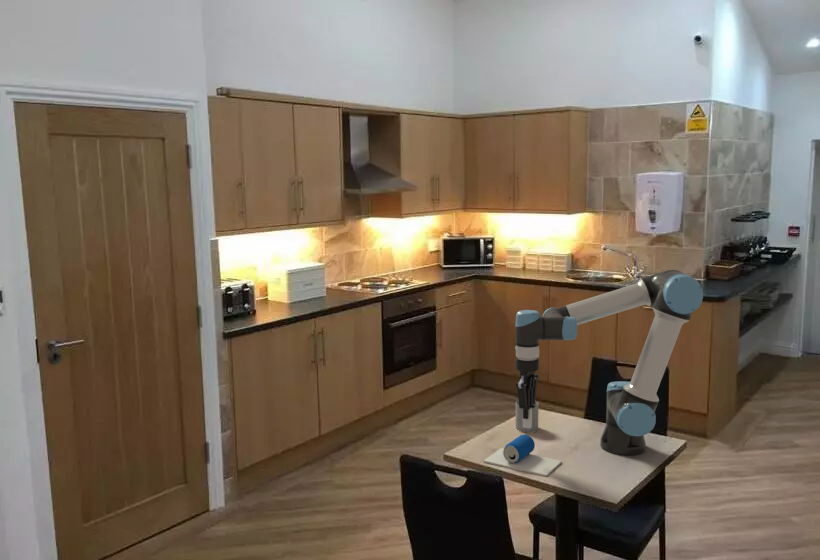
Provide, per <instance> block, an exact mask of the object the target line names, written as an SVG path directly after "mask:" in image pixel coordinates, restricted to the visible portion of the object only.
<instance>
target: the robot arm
mask: <svg viewBox="0 0 820 560" xmlns="http://www.w3.org/2000/svg"><path fill="white" fill-rule="evenodd" d="M702 288H703V287H702V286H701V284H700V282H699V281H698V280H697V279H696V278H694V277H693V276H691V275H689V274H686V273H684V272H682V271H680V270H677V269H666V270H662V271H660V272H657V273H653V274H651V275H649V276H646V277H643V278H639V280H638V282H637V283H634V284H630V285H627V286H624V287H620V288H618V289H614V290H611V291H608V292H605V293H601V294H599V295H595V296H592V297H589V298H586V299H583V300H579V301H575V302H573V303H569V304H566V305H563V306H559V307H550V308H547V309H546V310H545V311H544V312H543V313H542V316H540V313H539V311H537V310H534V309H532V310H531V309H523V310H519V311H518V312H516V315H515V347H514V349H515V357H516V358H515V369H516V370H517V371H519V382H518V381H516V382H515V386H516V387H515V388H516V389H517V390H516V391H517V401H518V400H519V408H521V409H523V427H524V428H529V429H530V428H532V408H535V406H534V405H533V404H535V401H536V398H537V397H536V395H537V384H538V378H539V374H537V373H536V372H537V371H538V370H539V369H540V359H539V357H540V341H572V340H573V341H574V340H576V339H577V336H578V326H579V325H582V324H586V323H589V322H591V321H595V320H598V319H601V318H605V317H608V316H611V315H615V314H619V313H621V312H624V311H628V310H631V309H635V308H638V307H641V306H645V305H646V306H648V307H651V306H652V310H653V312H654V317H653V321H652V323H651V325H650V328H649V330H648V334H647V337H646V339H645V343H644V345H643V347H642V350H641V353H640V355H639V357H638V361H637V364H636V365H635V369H634V371H633V374H632V377H631V380H630V381H622V380H621V381H620V380H619V381H611V382H609V383H608V384H607V386H606V387H607V388H606V415H605V417H606V418H605V419H606V420H605V426H604V429H603V431H602V434H601V436H600V441H599V442H600V447H601V448H602V450H604V451H606V452H609V453H612V454H616V455H623V456H635V455H640V454H642V453H645V451H646V450H647V449H646V448H647V442H646V439H645V435H647V434H649V433H650V432H651V431H653V429H654V428H655V426H656V421H657V420H656V418H657V416H656V409H657V407H658V404H659V401H660V399H659V396H658V395H657V392H658V389H659V387H660V384H661V381H662V379H663V377H664V374H665V372H666V369H667V366H668V363H669V361H670V358H671V355H672V353H673V350H674V348H675V344H676V342H677V339H678V338H679V335H680V331H681V329H682V326H683V325H684V324H686V323H688V322H689V321H690V320H691V317H692V314H693V312H695V311H696V310H698V309H699V308H700V306H701V305H702V302H703V299H704V292H703V289H702Z"/></svg>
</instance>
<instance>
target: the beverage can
mask: <svg viewBox="0 0 820 560" xmlns="http://www.w3.org/2000/svg"><path fill="white" fill-rule="evenodd" d="M535 445H536V444H535V441H534V438H532V437H531V436H530V435H529V434H527V433H526V434H523V433H522V434H520V435H519V436H518V437H516V438H514V439H512V441H510V442H509V443H507V444H506V445H505V446H504V448H503V449H504V450H503V455H504V457H505V459H506V460H507V461H508V462H511V463H516V462H519V461H520V460H521V459H523V458H524V457H525V456H527V455H528V454H531V453H532V452H533V451H534V450H535Z"/></svg>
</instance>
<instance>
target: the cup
mask: <svg viewBox="0 0 820 560" xmlns="http://www.w3.org/2000/svg"><path fill="white" fill-rule="evenodd" d="M539 404H540V403H539V401H536V400H535V404H533V405H534V406H535V408H532V428H530V429H529V428H524V427H523V409H521V408H519V400H518V399H517V400H516V401H515V422H514V423H515V426H514V427H516V428H515V430H516V429H517V430H516V431H518V430H519V431H518V432H520V431H521V433H527V432H530V433H535V432H537V431H538V430H539Z"/></svg>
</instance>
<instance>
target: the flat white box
mask: <svg viewBox="0 0 820 560" xmlns="http://www.w3.org/2000/svg"><path fill="white" fill-rule="evenodd" d="M503 450H504V448H503V447H500V448H498V449H497V450H496V451H495V452H493V453H492V454H491V455H490V456H488V457H486V458H485V459H484V460H483V463H485V464H489V465H494V466H498V467H502V468H508V469H511V470H516V471H521V472H525V473H528V474H533V475H538V476H541V475H542V477H548V476H549V475H550V474H552V472H553V471H554V470H556V469H557V468H558V467H560V465H561V464H562V463H563V461H562V460H559V459H554V458H550V457H544V456H540V455H535V454H531V453H529V454H528V455H527V456H525V457H524V458H523V459H521V460H520V461H519V462H516V463H511V462H508V461H507V460H506V459H505V457H504V455H503Z"/></svg>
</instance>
